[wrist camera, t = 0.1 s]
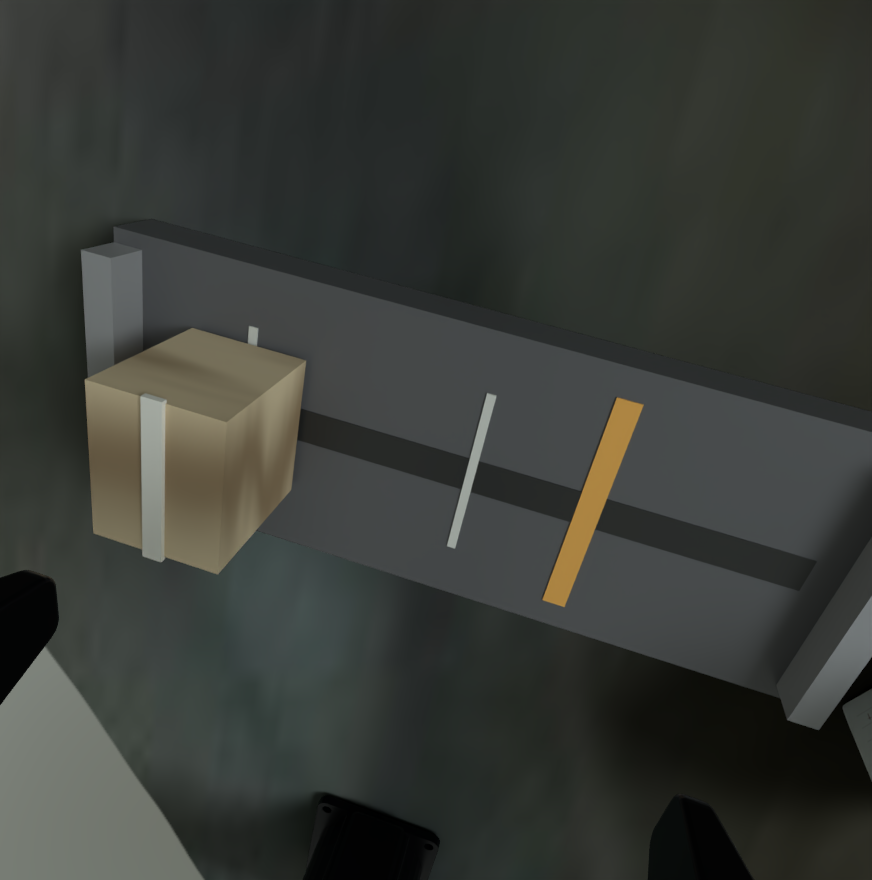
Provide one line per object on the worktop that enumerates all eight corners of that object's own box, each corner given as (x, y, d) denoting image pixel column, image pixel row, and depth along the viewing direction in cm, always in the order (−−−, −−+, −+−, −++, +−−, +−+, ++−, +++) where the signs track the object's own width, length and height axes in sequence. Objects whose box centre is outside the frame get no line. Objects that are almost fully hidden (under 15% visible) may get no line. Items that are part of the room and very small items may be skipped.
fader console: (784, 662, 24) (811, 740, 21) (152, 463, 27) (94, 506, 24) (934, 428, 19) (996, 484, 16) (151, 218, 22) (79, 233, 19)
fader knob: (290, 492, 23) (215, 580, 19) (188, 460, 24) (90, 538, 19) (306, 357, 21) (223, 421, 16) (192, 325, 21) (80, 377, 17)
